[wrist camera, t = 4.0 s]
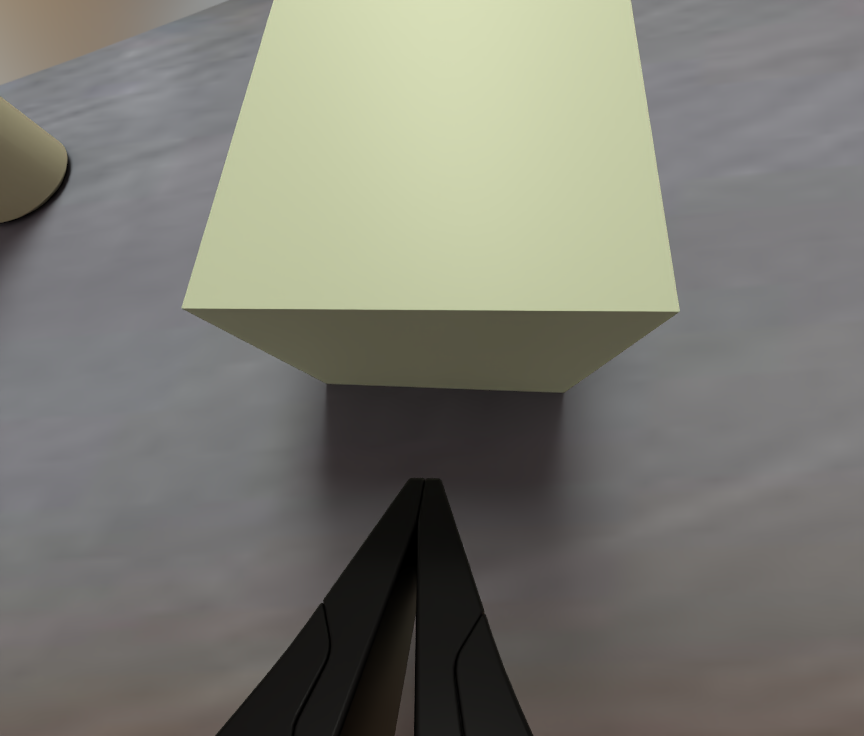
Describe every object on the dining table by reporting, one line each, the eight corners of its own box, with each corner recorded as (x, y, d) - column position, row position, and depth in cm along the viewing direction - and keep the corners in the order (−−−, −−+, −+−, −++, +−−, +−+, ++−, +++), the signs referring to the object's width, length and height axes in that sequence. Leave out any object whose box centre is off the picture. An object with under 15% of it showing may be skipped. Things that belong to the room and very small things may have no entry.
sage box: (562, 393, 15) (679, 311, 7) (327, 384, 17) (181, 308, 8) (552, 165, 19) (618, -75, 11) (360, 174, 21) (282, -28, 12)
